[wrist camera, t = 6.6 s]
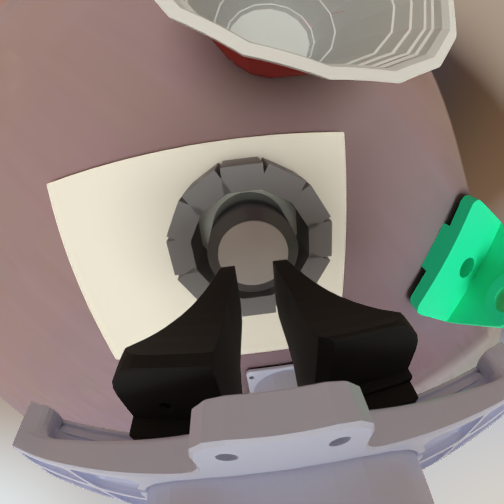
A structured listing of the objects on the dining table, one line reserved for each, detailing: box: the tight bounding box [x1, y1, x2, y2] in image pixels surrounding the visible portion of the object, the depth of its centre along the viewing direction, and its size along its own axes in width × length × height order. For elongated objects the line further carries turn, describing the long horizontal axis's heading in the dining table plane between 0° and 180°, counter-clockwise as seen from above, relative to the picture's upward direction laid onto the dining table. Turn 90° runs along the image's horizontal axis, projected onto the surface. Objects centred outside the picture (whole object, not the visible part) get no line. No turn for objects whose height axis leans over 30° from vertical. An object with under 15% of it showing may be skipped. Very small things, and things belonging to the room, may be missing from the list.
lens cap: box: [207, 192, 298, 292], centre depth 17 cm, size 5×5×4 cm
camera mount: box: [410, 195, 504, 328], centre depth 17 cm, size 12×8×10 cm, turn 159°
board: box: [47, 132, 346, 359], centre depth 19 cm, size 18×22×4 cm
